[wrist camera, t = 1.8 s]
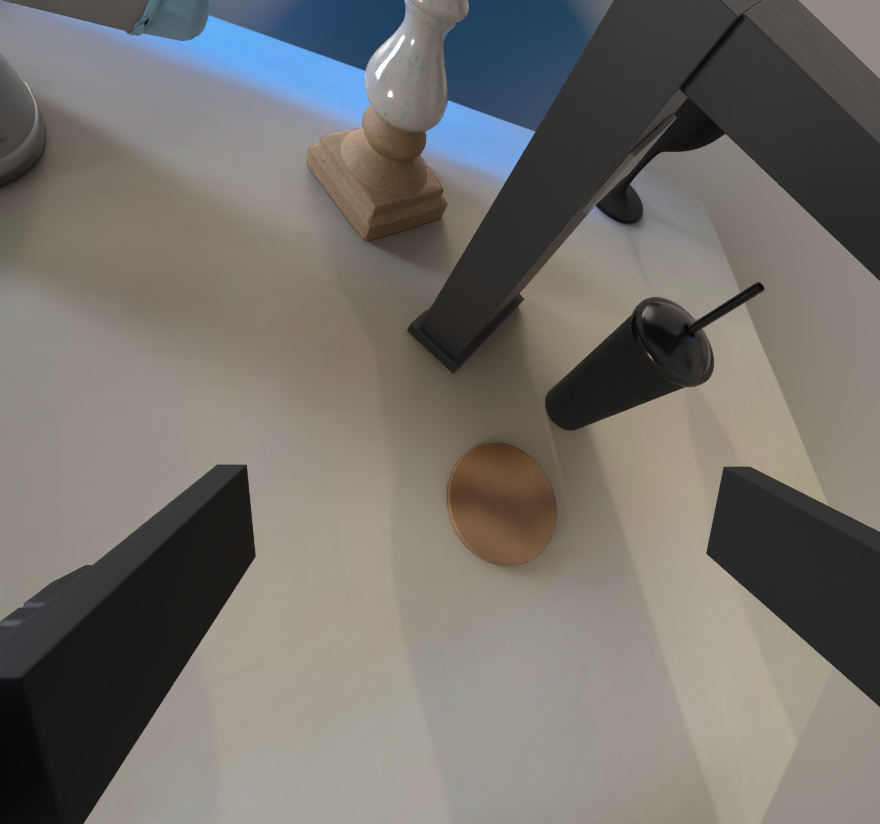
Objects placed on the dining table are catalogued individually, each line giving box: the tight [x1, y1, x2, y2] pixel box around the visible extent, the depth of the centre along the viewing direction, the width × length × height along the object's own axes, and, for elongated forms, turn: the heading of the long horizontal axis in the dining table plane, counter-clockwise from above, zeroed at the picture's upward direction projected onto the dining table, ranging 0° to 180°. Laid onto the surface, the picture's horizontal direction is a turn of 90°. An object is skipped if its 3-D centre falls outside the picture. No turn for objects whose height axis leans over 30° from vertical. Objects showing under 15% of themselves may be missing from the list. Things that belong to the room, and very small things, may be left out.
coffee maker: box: [407, 0, 880, 373], centre depth 32 cm, size 20×13×28 cm, turn 52°
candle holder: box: [306, 0, 469, 240], centre depth 36 cm, size 11×11×24 cm
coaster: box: [447, 443, 556, 565], centre depth 37 cm, size 10×10×1 cm
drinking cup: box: [546, 282, 764, 430], centre depth 35 cm, size 8×8×20 cm
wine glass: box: [596, 98, 725, 224], centre depth 55 cm, size 10×10×20 cm
